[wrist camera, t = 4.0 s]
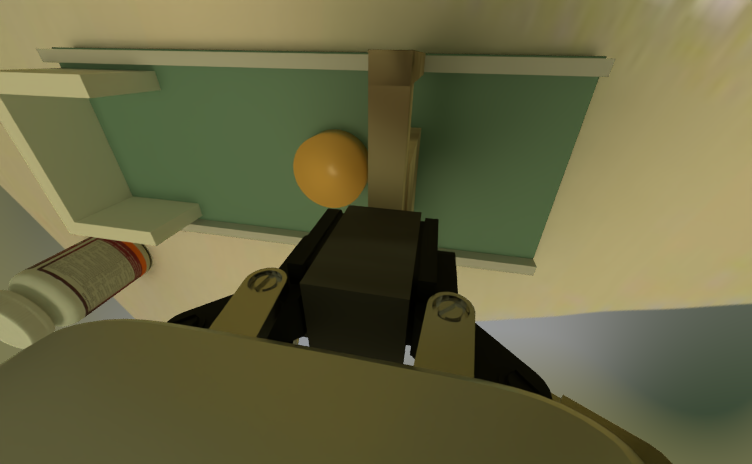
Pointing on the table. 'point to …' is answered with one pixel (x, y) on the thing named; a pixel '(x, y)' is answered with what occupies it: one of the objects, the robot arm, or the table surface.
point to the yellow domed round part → (331, 168)
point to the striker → (373, 229)
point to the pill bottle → (67, 288)
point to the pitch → (292, 141)
